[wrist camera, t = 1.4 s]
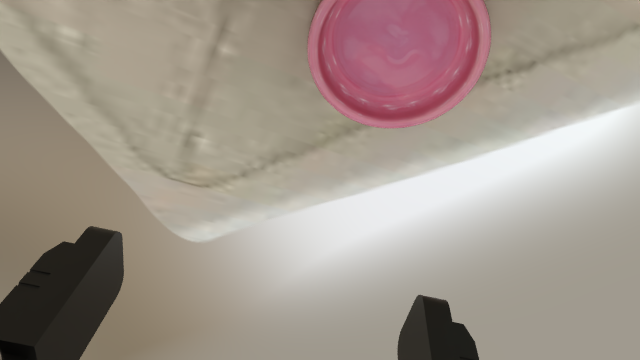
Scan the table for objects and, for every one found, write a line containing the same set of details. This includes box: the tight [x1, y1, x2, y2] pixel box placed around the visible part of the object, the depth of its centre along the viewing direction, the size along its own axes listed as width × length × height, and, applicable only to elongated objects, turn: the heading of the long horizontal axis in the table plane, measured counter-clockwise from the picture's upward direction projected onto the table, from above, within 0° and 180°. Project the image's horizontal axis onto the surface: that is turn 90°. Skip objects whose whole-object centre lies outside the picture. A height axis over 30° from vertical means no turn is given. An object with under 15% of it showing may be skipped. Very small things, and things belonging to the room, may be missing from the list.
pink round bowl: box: [308, 0, 491, 128], centre depth 33 cm, size 12×12×3 cm
